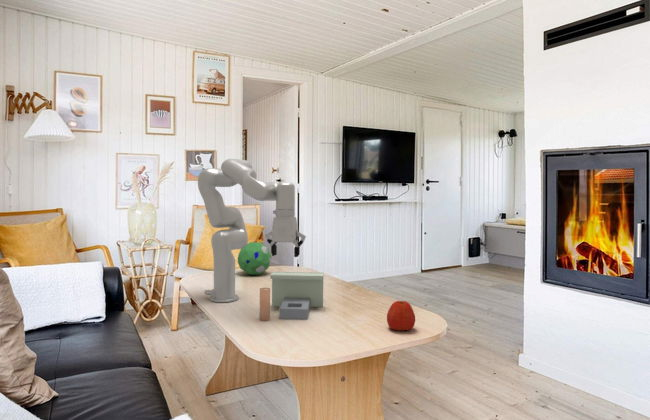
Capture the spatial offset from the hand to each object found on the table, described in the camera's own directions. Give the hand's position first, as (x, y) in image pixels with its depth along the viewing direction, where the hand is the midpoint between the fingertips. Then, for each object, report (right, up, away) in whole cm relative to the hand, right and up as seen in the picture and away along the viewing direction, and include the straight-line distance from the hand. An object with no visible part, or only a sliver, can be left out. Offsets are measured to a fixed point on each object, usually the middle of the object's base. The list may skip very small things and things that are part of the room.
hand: (285, 256), depth 176 cm
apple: (+44, -25, -16) cm, 53 cm away
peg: (-7, -24, -7) cm, 26 cm away
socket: (+4, -23, +2) cm, 24 cm away
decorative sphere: (-25, -19, +79) cm, 86 cm away
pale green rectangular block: (+4, -23, +10) cm, 25 cm away
